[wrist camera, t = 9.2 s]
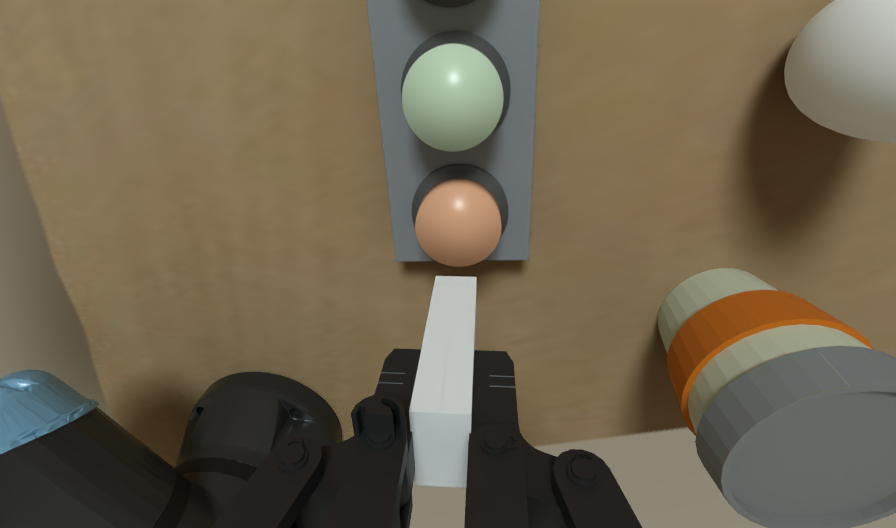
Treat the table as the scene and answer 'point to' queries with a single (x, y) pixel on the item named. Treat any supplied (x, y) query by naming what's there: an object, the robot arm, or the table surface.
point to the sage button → (452, 97)
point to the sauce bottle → (847, 69)
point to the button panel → (497, 157)
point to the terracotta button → (458, 222)
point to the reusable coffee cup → (782, 402)
